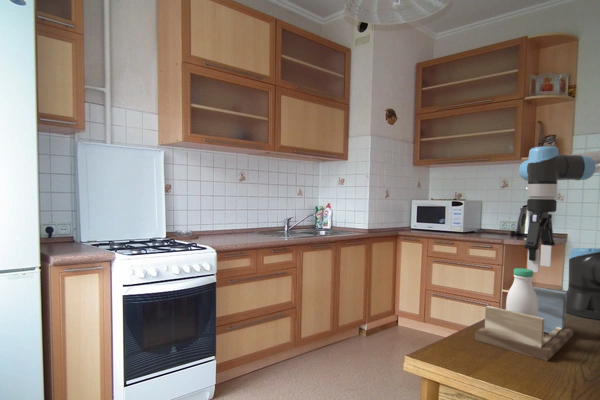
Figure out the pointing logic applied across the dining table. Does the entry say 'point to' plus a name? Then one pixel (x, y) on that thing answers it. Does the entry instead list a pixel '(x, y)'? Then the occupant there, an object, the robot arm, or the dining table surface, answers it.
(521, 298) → the milk bottle
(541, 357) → the dark wooden tray
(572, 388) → the dining table surface
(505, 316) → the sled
